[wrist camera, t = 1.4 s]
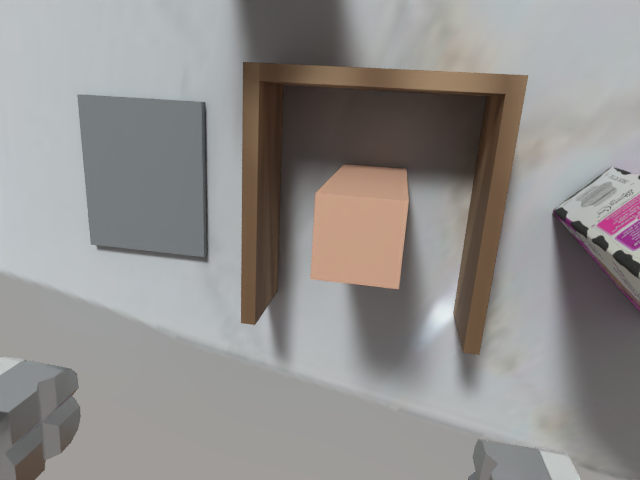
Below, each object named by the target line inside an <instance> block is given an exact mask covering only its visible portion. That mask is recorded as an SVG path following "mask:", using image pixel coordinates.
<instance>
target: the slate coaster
mask: <svg viewBox="0 0 640 480" xmlns="http://www.w3.org/2000/svg"><path fill="white" fill-rule="evenodd" d="M78 106H79V117H80V128H81V139H82V150H83V161H84V172H85V183H86V195H87V206H88V217H89V228H90V239H91V245H100V246H109V247H118V248H127V249H136V250H145V251H153V252H162V253H171V254H180V255H189V256H198V257H205V256H206V255H207V220H206V153H205V102H193V101H176V100H160V99H144V98H127V97H111V96H95V95H78Z"/></svg>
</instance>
